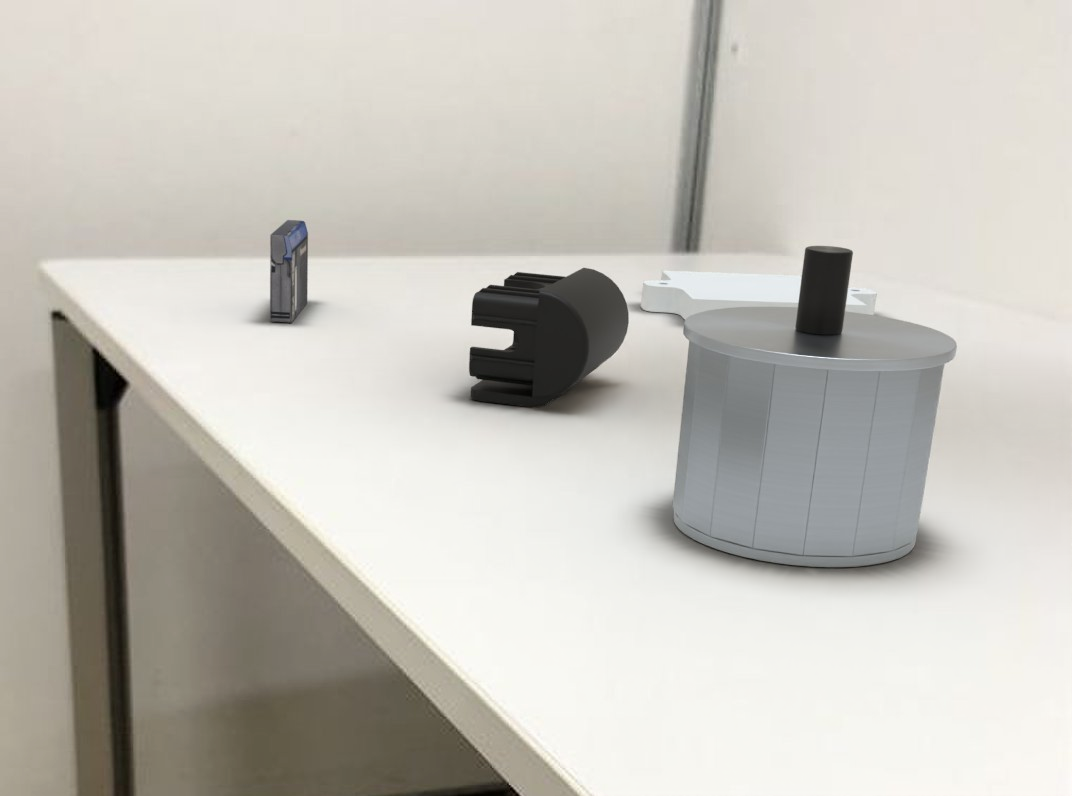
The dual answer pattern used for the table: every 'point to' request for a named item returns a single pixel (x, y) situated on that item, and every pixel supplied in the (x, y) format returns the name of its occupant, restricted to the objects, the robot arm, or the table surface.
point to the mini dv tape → (288, 271)
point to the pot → (803, 460)
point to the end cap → (545, 334)
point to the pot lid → (821, 327)
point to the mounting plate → (734, 292)
